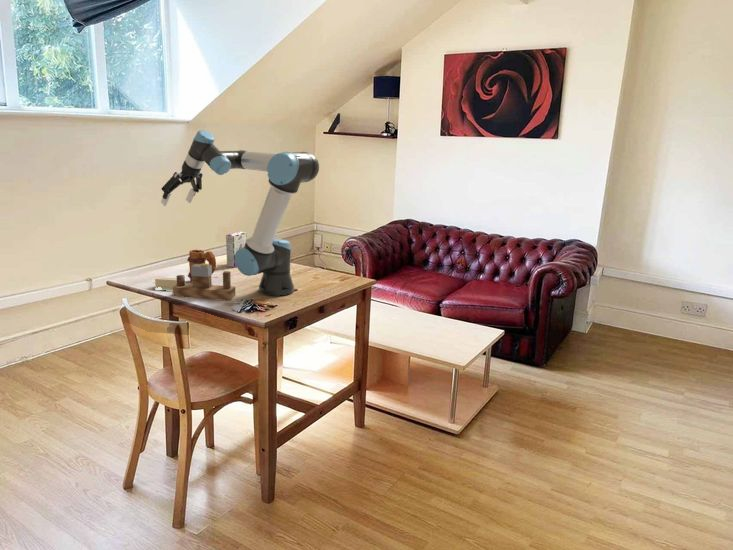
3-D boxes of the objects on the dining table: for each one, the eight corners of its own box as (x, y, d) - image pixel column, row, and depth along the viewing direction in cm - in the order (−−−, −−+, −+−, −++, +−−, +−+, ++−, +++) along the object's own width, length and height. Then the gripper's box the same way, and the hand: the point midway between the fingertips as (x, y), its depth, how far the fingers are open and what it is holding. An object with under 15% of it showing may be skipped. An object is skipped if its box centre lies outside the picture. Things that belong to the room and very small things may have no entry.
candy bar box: (239, 262, 294) (238, 231, 290) (247, 263, 292) (247, 232, 288) (226, 266, 284) (225, 234, 280) (234, 268, 282) (233, 235, 278)
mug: (183, 281, 255) (182, 249, 251) (196, 278, 262) (195, 246, 258) (208, 287, 248) (207, 254, 244) (221, 283, 255) (220, 250, 251)
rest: (184, 285, 250) (183, 276, 248) (174, 291, 240) (174, 282, 239) (162, 283, 250) (161, 275, 249) (151, 290, 241) (151, 281, 240)
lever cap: (211, 274, 236) (211, 263, 234) (208, 277, 231) (207, 265, 230) (195, 273, 236) (195, 262, 235) (191, 275, 232) (191, 264, 231)
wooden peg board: (235, 295, 239) (235, 270, 236) (230, 300, 232) (229, 274, 229) (179, 291, 240) (179, 266, 237) (173, 296, 233) (172, 270, 231)
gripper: (210, 157, 252) (192, 194, 263) (163, 159, 232) (147, 199, 242) (220, 168, 250) (202, 205, 261) (174, 170, 229) (157, 210, 240)
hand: (175, 202), depth 251 cm, fingers open, 13 cm apart
